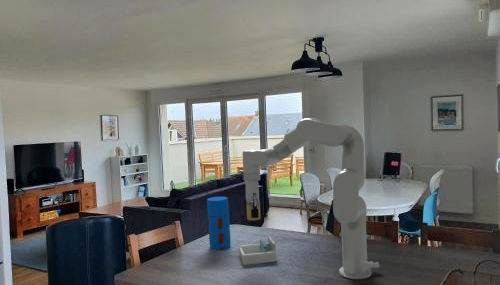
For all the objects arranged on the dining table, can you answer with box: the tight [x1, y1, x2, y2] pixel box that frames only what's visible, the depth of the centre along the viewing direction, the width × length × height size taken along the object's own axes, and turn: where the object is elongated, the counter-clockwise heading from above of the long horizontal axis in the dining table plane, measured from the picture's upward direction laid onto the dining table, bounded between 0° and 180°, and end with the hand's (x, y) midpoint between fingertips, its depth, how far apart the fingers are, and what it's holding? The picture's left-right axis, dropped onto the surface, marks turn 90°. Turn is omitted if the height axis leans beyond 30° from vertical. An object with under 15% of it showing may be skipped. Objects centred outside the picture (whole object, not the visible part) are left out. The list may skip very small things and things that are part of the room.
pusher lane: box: [238, 235, 277, 266], centre depth 179 cm, size 15×14×8 cm
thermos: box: [206, 196, 231, 251], centre depth 198 cm, size 11×11×25 cm
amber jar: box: [245, 200, 261, 221], centre depth 176 cm, size 6×6×8 cm
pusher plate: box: [259, 239, 267, 253], centre depth 179 cm, size 1×11×6 cm, turn 8°
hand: (253, 215), depth 176 cm, fingers closed on amber jar, 6 cm apart
